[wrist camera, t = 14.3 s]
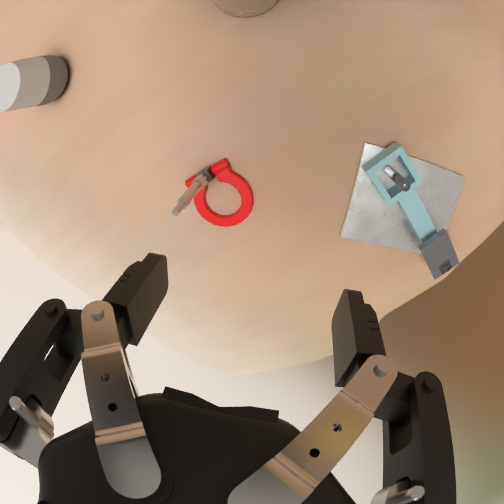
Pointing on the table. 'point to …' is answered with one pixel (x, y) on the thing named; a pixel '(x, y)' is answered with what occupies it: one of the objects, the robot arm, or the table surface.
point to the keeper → (439, 253)
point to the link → (407, 199)
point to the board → (393, 218)
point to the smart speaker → (31, 82)
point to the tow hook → (199, 188)
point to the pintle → (397, 179)
